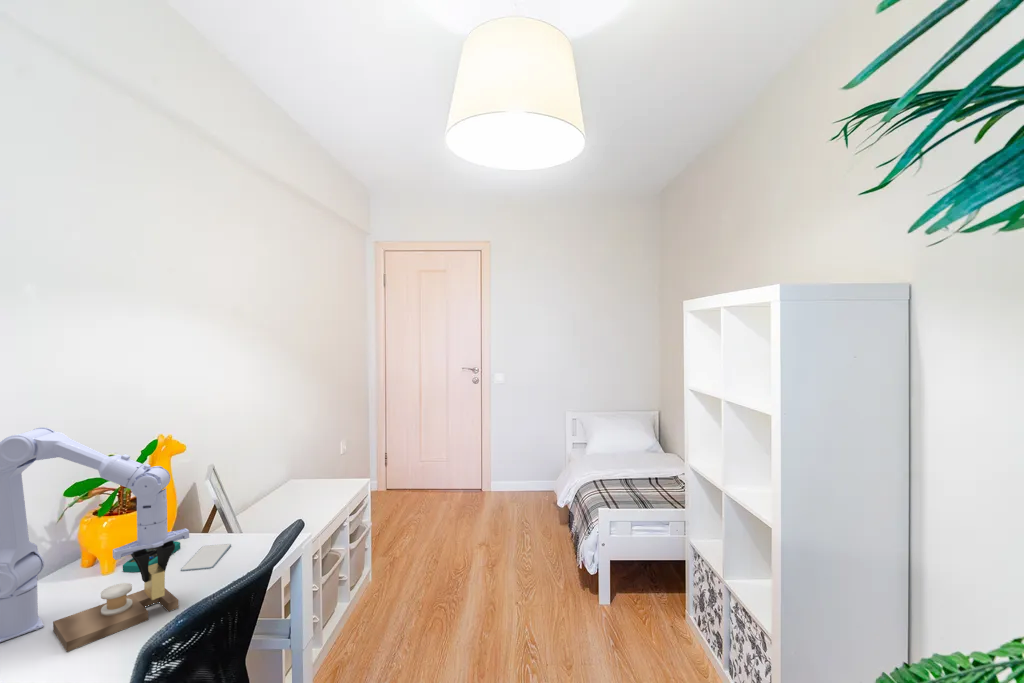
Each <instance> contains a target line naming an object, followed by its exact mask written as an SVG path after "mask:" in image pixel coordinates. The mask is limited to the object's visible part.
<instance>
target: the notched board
mask: <svg viewBox="0 0 1024 683" xmlns="http://www.w3.org/2000/svg"><path fill="white" fill-rule="evenodd" d="M127 599H131V600H132V606H131V607H130V608H129V609H128V610H126V611H124V612H122V613H119V614H115V615H110V616H104V615H102V614H101V608H102V607H103V606H104V605H106V604H107V602H105V603H102V604H99V605H95V606H94V607H90V608H87V609H85V610H82V611H79V612H76V613H73V614H71V615H68V616H65V617H62V618H60V619H57V620H54V621H52V624H53V625H52V629H53V633H54V634H55V636H56V637H57V639H58V640H59V642H60V644H61V645H62V647H63V648H64V651H66V652H70V651H73V650H75V649H78V648H80V647H83V646H85V645H87V644H90V643H93V642H96V641H98V640H100V639H103V638H106V637H108V636H111V635H114V634H116V633H119V632H121V631H124V630H126V629H128V628H131V627H134V626H136V625H139V624H141V623H143V622H146V621H148V620H149V610H148V609H147V607H145V606H148V605H151V604H153V603H156V604H158V603H157V602H160V603H159V604H160V605H161V606H162V605H163V606H162V607H163V608H164V607H165V608H166V609H167V610H168V611H167V610H166V609H165V608H164V609H165V610H166V611H167V612H171V611H170V610H172V611H174V610H176V608H177V609H179V608H180V607H179V606H180V605H179V598H177V597H176V596H175V595H174V594H173V593H171V591H169V590H168V589H166V588H165V596H162V597H159V598H157V599H154V600H151V599H150V598H149V597H148V595H147V594H146V593H145V592H144V589H142V590H138V591H136V592H133V593H130V594H128V595H127ZM153 605H154V604H153ZM151 606H152V605H151ZM148 607H149V606H148ZM173 609H174V610H173Z"/></svg>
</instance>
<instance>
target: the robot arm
mask: <svg viewBox="0 0 1024 683" xmlns="http://www.w3.org/2000/svg"><path fill="white" fill-rule="evenodd" d="M55 458H59V459H63V460H66V461H69V462H73V463H75V464H79V465H82V466H85V467H86V468H87V467H88V468H90V469H94V470H97V471H98V473H99V477H100V479H104V480H106V481H108V482H111V483H114V484H116V485H120V486H121V487H125V488H127V489H129V490H130V491H131V493H132V495H133V496H134V497H135V498H136V540H134V541H132V542H130V543H126V544H124V545H121V546H120V547H119V546H118V547H115V548H113V549H112V558H113V559H114V560H115V561H116V560H120V559H122V558H123V557H126V556H131V558H133V559H134V560H135V562H136V564H137V566H138V568H139V570H140V572H139V573H140V576H141V580H142V581H143V582H148V581H149V571H148V565H149V557H150V555H148V554H147V551H146V550H147V549H150V548H155V547H156V549H157V557H158V565H159V566H160V567H161V568H162V569H163V570H164V571H165V572H166V569H167V566H168V564H169V561H170V558H171V556H172V555H173V554H174V553H173V551H174V549H175V544H173V542H174V541H177V542H178V541H180V540H186V539H189V538H190V530H189V529H188V528H182V529H177V530H174V531H173V530H172V531H168V499H167V486H168V485H169V483H170V481H171V473H170V472H169V471H168V470H167V469H165V468H164V467H163V466H161V465H156V466H152V465H150V464H149V463H146V464H144V463H141V462H138V461H136V460H134V459H131V456H130V455H129V454H126V453H125V454H123V455H122V454H118V453H117V454H114V455H111V456H109V455H106V454H105V453H102V452H101V451H98V450H96V449H94V448H91V447H90V446H88V445H85V444H83V443H81V442H79V441H77V440H76V439H73V438H70V437H69V436H68V435H66V434H65V433H64V432H61V431H55V430H54V429H52V428H49V427H36V428H34V429H32V430H29V431H25V432H21V433H19V434H14V435H13V434H12V435H9V436H7V437H4V438H3V439H2V440H0V643H2V642H5V641H8V640H10V639H13V638H17V637H20V636H22V635H25V634H28V633H30V632H34V631H36V630H38V629H41V628H43V627H44V623H43V621H42V619H41V618H40V616H39V611H38V610H39V602H38V596H39V595H38V578H39V577H38V575H39V574H40V573H41V572H42V571H43V570H44V567H45V560H44V557H43V556H42V555H41V553H40V552H39V550H38V549H39V548H38V545H37V544H35V543H34V542H32V541H30V536H29V529H28V520H27V512H26V511H27V510H26V502H25V492H24V484H23V477H22V476H23V475H22V473H23V472H24V471H25V470H26V469H27V468H29V467H30V466H31V465H33V463H34V462H35V461H42V460H49V459H55ZM172 553H173V554H172ZM171 554H172V555H171Z"/></svg>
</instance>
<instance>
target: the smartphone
mask: <svg viewBox="0 0 1024 683" xmlns="http://www.w3.org/2000/svg"><path fill="white" fill-rule="evenodd" d="M231 547H232V544H231V543H222V544H212V545H203V546H201V547H200V548H199V549H198V551H197V552H195V554H194V555H192V556H191V558H190V559H189V560H188V561H187V562H185V564H184V565H183V567H181V568H180V572H188V571H190V570H192V571H196V570H197V571H199V570H200V571H201V570H211V569H214V567H215V566H216V565H217V564H218V563H219V562H220V561H221V559H222V558H223V557H224V556H225V555H226V554H227V552H228V551H229V549H231Z"/></svg>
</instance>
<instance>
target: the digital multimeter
mask: <svg viewBox="0 0 1024 683" xmlns="http://www.w3.org/2000/svg"><path fill="white" fill-rule="evenodd" d="M173 544H175V549H174V551H173V553H172V554H171V556H172V555H174V554H175V553H176V552H177V551H179V550H180V549H181V542H180V541H178V540H177V541H174V542H173ZM146 551H147V554H148V555H150V557H149V565H148V566H150V565H153V564H156V563H157V564H158V557H157V549H156V547H155V548H150V549H147V550H146ZM123 571H124V572H123ZM122 572H123V573H140V570H139V568H138V566H137V564H136V562H135V560H134V559H133V557H131V559H129V560H127V561H126V562H124V563H122Z"/></svg>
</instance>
